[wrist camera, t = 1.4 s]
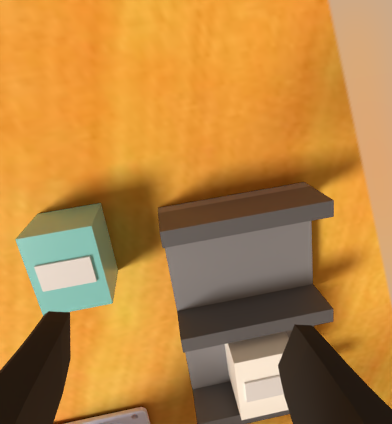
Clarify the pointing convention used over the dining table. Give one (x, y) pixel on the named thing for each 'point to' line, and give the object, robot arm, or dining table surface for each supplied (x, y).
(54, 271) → the teal box
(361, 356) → the dining table surface
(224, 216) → the gray shelf unit
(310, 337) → the robot arm
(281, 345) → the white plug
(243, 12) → the dining table surface
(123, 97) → the dining table surface
